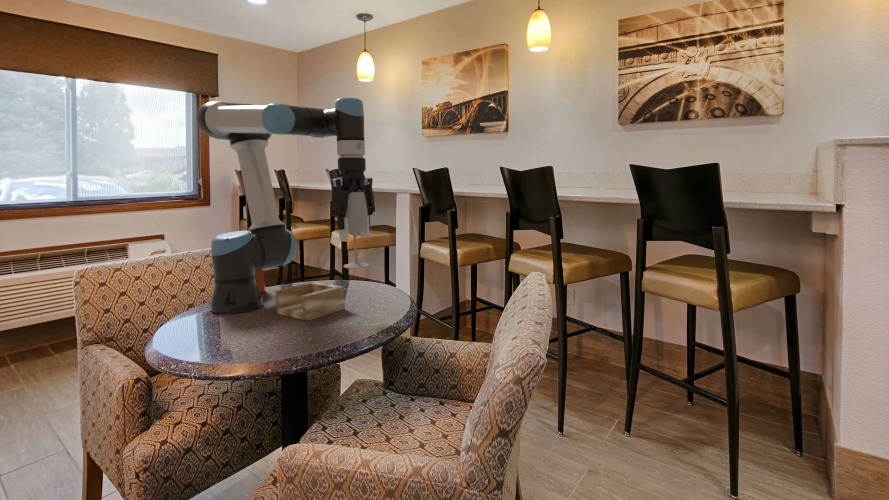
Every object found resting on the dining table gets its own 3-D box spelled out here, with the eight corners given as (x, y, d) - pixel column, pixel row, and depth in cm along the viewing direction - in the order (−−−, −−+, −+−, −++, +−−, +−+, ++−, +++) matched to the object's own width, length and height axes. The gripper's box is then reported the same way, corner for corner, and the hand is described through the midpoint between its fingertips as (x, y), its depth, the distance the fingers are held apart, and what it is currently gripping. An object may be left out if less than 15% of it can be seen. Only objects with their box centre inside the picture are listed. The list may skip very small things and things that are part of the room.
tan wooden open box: (276, 313, 148) (275, 290, 147) (313, 303, 160) (312, 281, 159) (308, 320, 140) (306, 296, 139) (344, 309, 152) (343, 286, 151)
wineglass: (364, 269, 138) (360, 192, 134) (338, 268, 139) (334, 192, 136) (373, 263, 145) (370, 191, 142) (348, 263, 147) (345, 191, 143)
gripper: (332, 156, 127) (337, 245, 131) (386, 157, 143) (389, 236, 147) (313, 156, 131) (317, 243, 135) (367, 157, 148) (370, 234, 151)
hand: (354, 239), depth 141 cm, fingers closed on wineglass, 8 cm apart
